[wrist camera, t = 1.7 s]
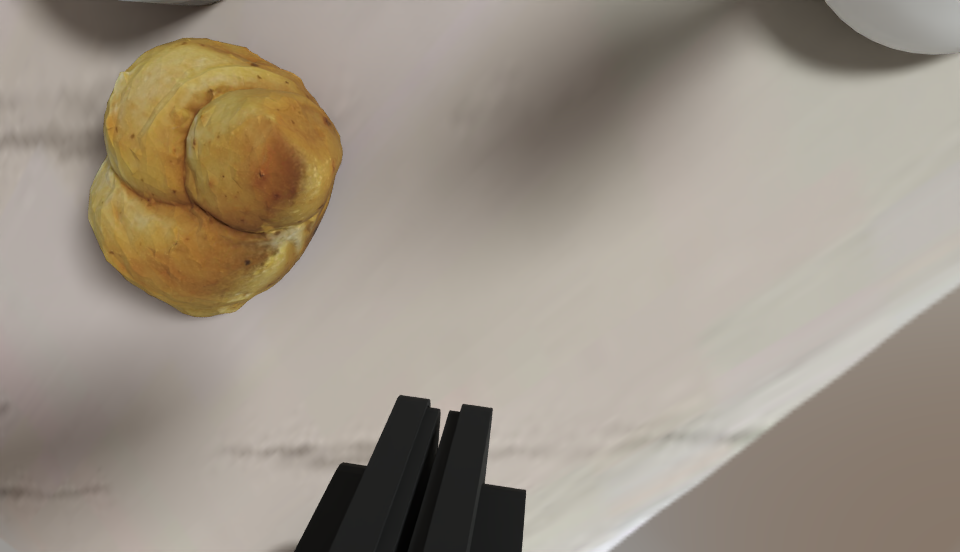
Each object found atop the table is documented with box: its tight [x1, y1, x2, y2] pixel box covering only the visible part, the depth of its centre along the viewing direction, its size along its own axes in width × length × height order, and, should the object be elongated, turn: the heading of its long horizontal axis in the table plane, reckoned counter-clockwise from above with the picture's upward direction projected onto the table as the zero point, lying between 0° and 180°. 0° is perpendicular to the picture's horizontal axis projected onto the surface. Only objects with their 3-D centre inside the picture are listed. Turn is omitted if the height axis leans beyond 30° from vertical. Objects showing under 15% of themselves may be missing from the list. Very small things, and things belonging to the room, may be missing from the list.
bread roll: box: [88, 38, 343, 317], centre depth 26 cm, size 13×10×8 cm
